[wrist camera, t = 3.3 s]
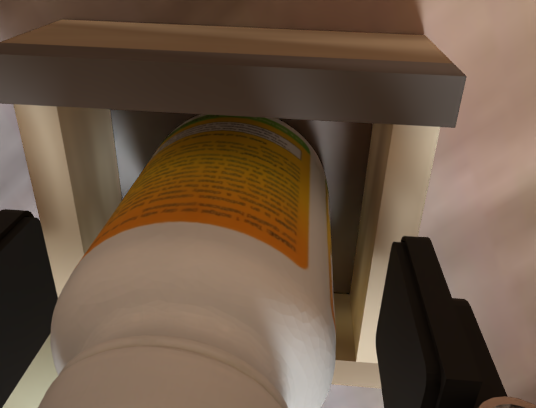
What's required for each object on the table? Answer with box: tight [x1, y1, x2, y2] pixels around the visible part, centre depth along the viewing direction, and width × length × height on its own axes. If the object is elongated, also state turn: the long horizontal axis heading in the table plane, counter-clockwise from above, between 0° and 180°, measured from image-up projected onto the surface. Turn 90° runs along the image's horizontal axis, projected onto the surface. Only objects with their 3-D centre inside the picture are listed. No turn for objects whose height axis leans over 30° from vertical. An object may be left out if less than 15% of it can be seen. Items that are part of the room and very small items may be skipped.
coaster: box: [2, 333, 58, 408], centre depth 20 cm, size 9×9×1 cm
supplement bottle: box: [38, 114, 336, 408], centre depth 11 cm, size 5×5×10 cm
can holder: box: [0, 20, 466, 388], centre depth 14 cm, size 10×10×4 cm
